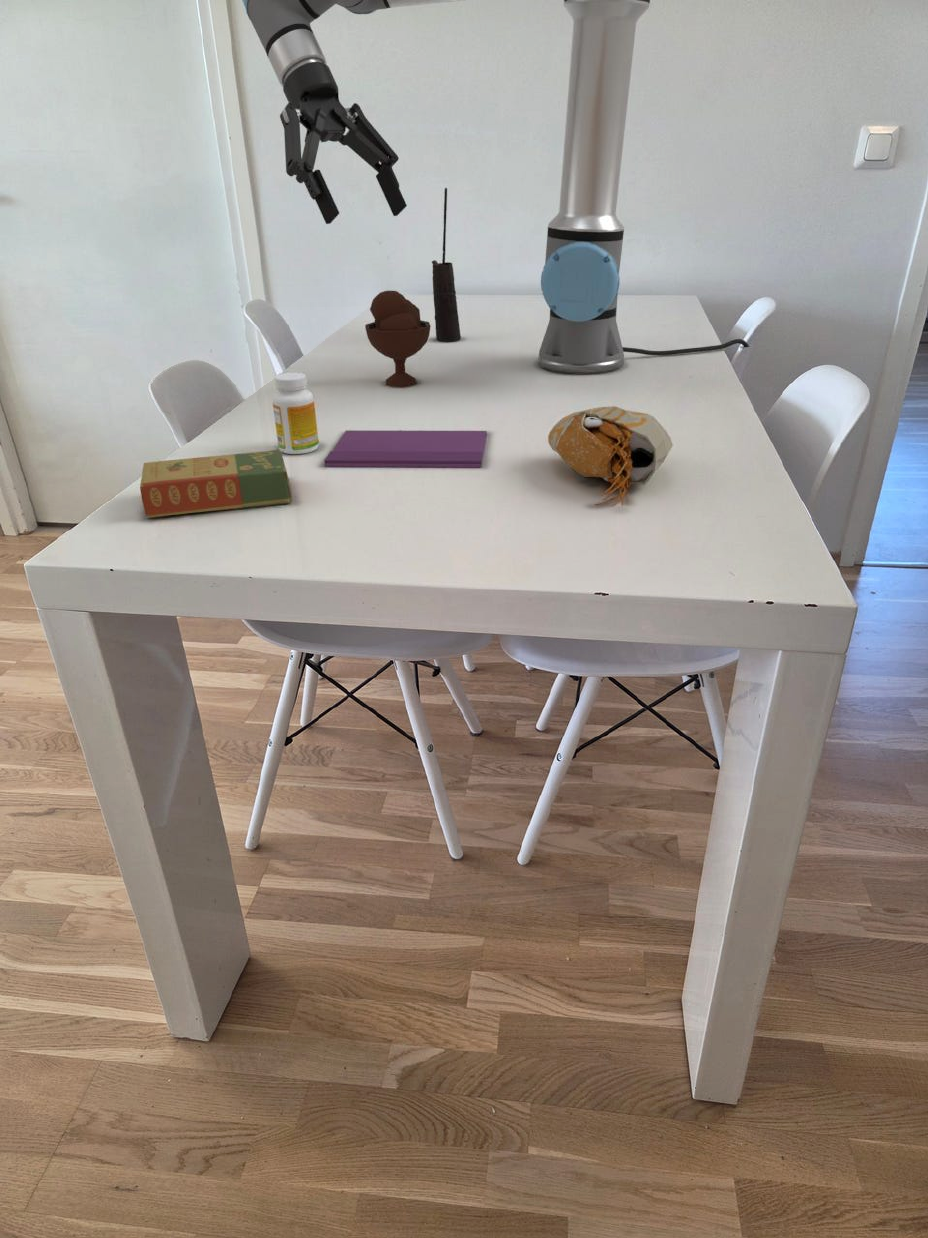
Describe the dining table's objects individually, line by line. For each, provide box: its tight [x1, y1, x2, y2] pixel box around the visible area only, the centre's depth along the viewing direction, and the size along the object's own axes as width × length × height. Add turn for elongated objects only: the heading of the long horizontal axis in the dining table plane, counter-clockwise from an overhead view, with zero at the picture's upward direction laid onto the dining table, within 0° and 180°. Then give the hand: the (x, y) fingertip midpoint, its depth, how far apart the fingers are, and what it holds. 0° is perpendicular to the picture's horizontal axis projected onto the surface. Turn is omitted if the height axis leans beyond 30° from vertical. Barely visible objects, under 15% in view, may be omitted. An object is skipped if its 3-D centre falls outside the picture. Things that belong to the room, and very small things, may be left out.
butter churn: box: [431, 187, 462, 343], centre depth 167 cm, size 9×10×28 cm
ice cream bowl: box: [365, 290, 432, 388], centre depth 139 cm, size 11×11×15 cm
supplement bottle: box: [271, 372, 320, 455], centre depth 111 cm, size 5×5×10 cm
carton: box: [139, 449, 293, 519], centre depth 97 cm, size 8×16×4 cm, turn 106°
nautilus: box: [547, 405, 674, 507], centre depth 98 cm, size 8×22×15 cm
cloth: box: [324, 430, 488, 468], centre depth 112 cm, size 20×14×1 cm
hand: (367, 214), depth 125 cm, fingers open, 13 cm apart
